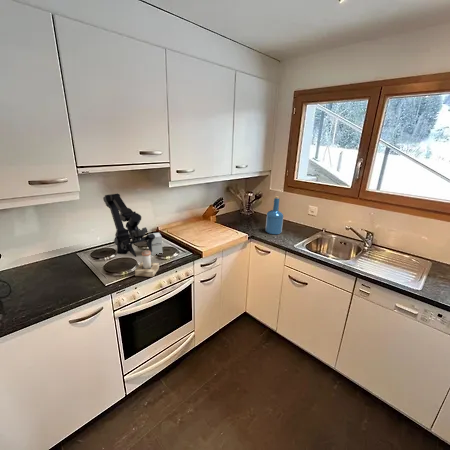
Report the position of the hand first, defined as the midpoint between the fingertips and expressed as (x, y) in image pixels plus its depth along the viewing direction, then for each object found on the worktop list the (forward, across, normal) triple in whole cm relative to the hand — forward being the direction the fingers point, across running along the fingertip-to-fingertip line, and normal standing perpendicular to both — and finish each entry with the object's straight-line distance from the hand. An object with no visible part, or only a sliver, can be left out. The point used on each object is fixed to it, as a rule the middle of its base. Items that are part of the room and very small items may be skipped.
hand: (143, 254), depth 144 cm
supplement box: (-5, +16, +19) cm, 25 cm away
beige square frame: (+9, 0, +5) cm, 11 cm away
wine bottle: (+13, +109, +2) cm, 110 cm away
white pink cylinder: (+9, 0, +5) cm, 10 cm away
